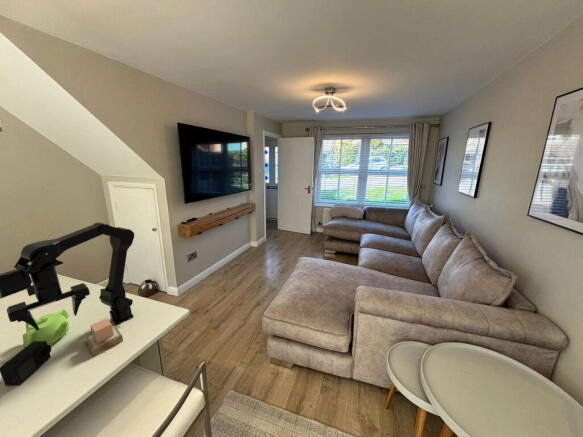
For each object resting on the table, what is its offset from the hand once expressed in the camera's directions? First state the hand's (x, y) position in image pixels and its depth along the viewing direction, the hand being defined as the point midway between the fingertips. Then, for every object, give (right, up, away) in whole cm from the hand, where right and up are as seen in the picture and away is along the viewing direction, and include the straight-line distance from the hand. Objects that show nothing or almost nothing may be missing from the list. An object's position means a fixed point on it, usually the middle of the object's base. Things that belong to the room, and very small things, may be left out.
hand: (57, 322), depth 81 cm
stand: (+10, -11, +8) cm, 17 cm away
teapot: (-11, -10, +9) cm, 17 cm away
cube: (+10, -8, +8) cm, 15 cm away
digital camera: (-5, -14, -4) cm, 15 cm away
